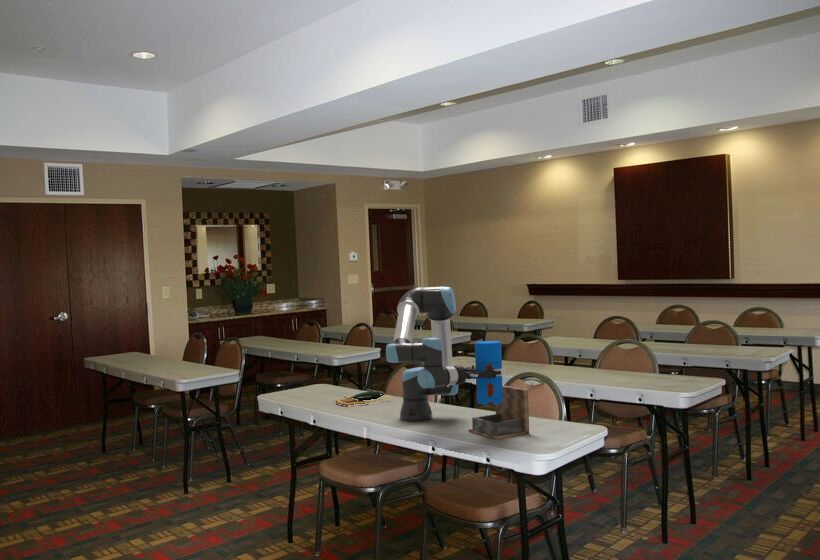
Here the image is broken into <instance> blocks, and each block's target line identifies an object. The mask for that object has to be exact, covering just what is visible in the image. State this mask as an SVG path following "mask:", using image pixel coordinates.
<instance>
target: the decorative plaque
mask: <svg viewBox="0 0 820 560" xmlns="http://www.w3.org/2000/svg"><path fill="white" fill-rule="evenodd" d="M380 394H382V395H380ZM383 395H384V396H386V397H388V398H386V399H391V398H392V397H391V396H390V395H386V394H385V392H383V391H378V390H373V389H370V388H367V390H363V391H360V392H356V393H355V394H353V395H351V396H343V398H339V399H335V401H336V403H338V404H342V405H346V406H348V405H354V404H365V403H370V402H376V401H380V400H383V399H379V400H375V401H367V402H366V401H363V400H371V399H377V398H379V397H381V396H383ZM352 398H353V399H352ZM355 399H358V401H357V400H355ZM336 403H335V404H336Z"/></svg>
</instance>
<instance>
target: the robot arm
mask: <svg viewBox="0 0 820 560" xmlns="http://www.w3.org/2000/svg"><path fill="white" fill-rule="evenodd" d="M396 312H397V318H396V319H397V320H396V325H395V330H394V336H393V340H392V341H393V342H391V343H388V344H386V346H385V347H386V348H385V358H386V361H387V362H388V363H391V364H392V363H394V364H395V363H396V364H399V363H400V364H403V363H404V364H405V363H422V364H423V366H420V367H419V366H418V367H414V368H413V367H412V368H408V369H406V370H404V371H403V372H402V380H401V382H402V405H401V408H400V412H399V419H400V420H402V421H407V422H408V421H409V422H419V421H420V422H423V421H427V420H431V419H432V418H433V411H432V409H431V406H430V403H429V396H456V395H457V394H458V391H459V385H463V384H464V383H465V382H466V380H476V379H477V378H492V377H493V379H494V378H495V377H496V376H502V377H503V376H507V368H505V367H504V368H503V367H502V369H494V370H487V371H478V370H476V366H475V365H471V367H470V366H468V367H464V366H462V365H459V364H458V365H455V364H454V363H453V348H452V347H453V346H452V330H451V320H452V318H453V316H454V314H455V313H456V312H457V303H456V297H455V293H454V290H453V288H452V287H451V286H442V285H441V286H426V287H425V286H423V287H422V286H421V287H419V286H418V287H414V288H412V289H409V290H408V291H407V292H405V294H403V296H402V297H401V298H400V299H399V301H398V303H397V307H396ZM419 314H426V317H427V319H428V320H429V321H430V325H431V337H425V338H423V339H422V342H417V343H416V342H415V343H414V342H413V337H414V332H415V324H416V319H417V317H418V315H419Z"/></svg>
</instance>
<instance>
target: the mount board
mask: <svg viewBox="0 0 820 560" xmlns="http://www.w3.org/2000/svg"><path fill="white" fill-rule="evenodd" d="M502 388H503V399H502V403H501V404H496V405H495V413H494V414H486V415H481V416H476V417H475V416H474V417H472V418H471V421H472V422H471V423H472V424H471V425H472V428H468V429H467V430H468V432H469V433H472V434H476V435H480V436H484V437H487V438H490V439H493V440H502V439H509V438H513V436H514V437H519V436H523V435H522V434H524V435H527V434H526V433H529V434H530V414H529V413H530V412H529V411H530V410H529V409H530V408H529V407H530V406H529V389H526V388H525V389H524V388H520V387H513V386H508V385H503V384H502ZM518 435H519V436H518ZM508 437H509V438H508Z"/></svg>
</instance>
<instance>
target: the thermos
mask: <svg viewBox="0 0 820 560" xmlns="http://www.w3.org/2000/svg"><path fill="white" fill-rule="evenodd" d="M502 356H503V355H502V342H501V341H497V340H495V341H494V340H485V341H484V340H482V341H476V342H475V343H474V358H475V361H474V362H475V367H476V370H478V371H487V370H494V369H503V366H502V365H503V363H502V362H503V361H502V360H503V359H502ZM502 385H503V375H502V376H496V377H495V378H494V379H493V377H492V378H477V379H475V387H476V388H475V390H476V391H475V393H476V394H475V395H476V403H477V404H478V405H484V406H492V405H494V406H496V404H501V403H502V399H503V388H502Z"/></svg>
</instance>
